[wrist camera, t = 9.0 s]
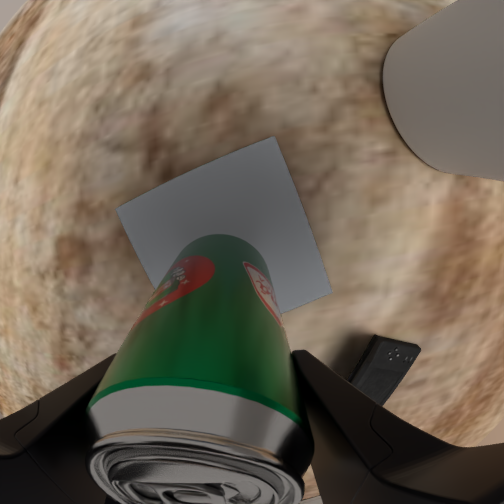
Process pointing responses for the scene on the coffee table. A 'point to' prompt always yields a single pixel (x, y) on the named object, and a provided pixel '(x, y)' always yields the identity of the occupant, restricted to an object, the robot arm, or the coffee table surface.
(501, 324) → the coffee table surface
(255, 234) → the slate mat
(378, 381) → the handheld gaming console
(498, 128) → the cylinder vase
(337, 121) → the coffee table surface
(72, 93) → the coffee table surface
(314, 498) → the small box
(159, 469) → the soda can
